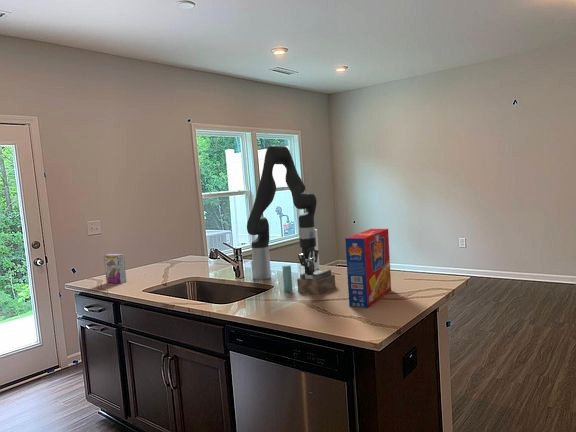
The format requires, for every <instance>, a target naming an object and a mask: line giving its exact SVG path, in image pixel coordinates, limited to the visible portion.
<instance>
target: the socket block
mask: <svg viewBox="0 0 576 432" xmlns="http://www.w3.org/2000/svg"><path fill="white" fill-rule="evenodd" d="M315 270H319V269H314V271H315ZM323 271H324V272H321V273H319V274H316V275H313V280H311V279H305V272H303V273H301V274H300V275H299V276H300V277H299V278H297V279H296V280H297V292H300V293H308V294H316V295H321V294H323V293H326V292H327V291H329V290H332V289H334V288H336V275H335V274H333V273H332V269H327V270H323Z"/></svg>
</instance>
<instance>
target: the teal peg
mask: <svg viewBox="0 0 576 432" xmlns="http://www.w3.org/2000/svg"><path fill="white" fill-rule="evenodd" d="M281 267H282V279H283V281H282V282H283V291H284V292H285V293H291V292H293V280H292V279H293V277H292V265H289V264H284V265H282V266H281Z"/></svg>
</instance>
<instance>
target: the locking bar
mask: <svg viewBox="0 0 576 432" xmlns="http://www.w3.org/2000/svg"><path fill="white" fill-rule="evenodd" d="M306 263H307V262H306ZM309 268H310V274H309V275H306V274H305V279H311V280H313V275H316V274H319V273H321V272H324V271H325V270H315V271H314V273H313V261H310V262H309Z"/></svg>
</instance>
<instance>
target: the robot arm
mask: <svg viewBox="0 0 576 432" xmlns="http://www.w3.org/2000/svg"><path fill="white" fill-rule="evenodd" d="M275 165H283V166H284V168H285V170H286V171H285V172H286V173H285V183H286V185H287V187H288V188H289V191H290V192H291V197H292V203H293V205H294V207H295V208H296V209H298V210H305V212H304V213H302V214H300V215H299V216H298V227H299V228H298V237H299V238H298V239H299V247H300V248H301V253H300V254H298V255H297V258H298V260H299V263H300V266H301V267H304V273H305V274H306V275H309V274H310V268H309V262H310V261H313V273H314V265H315V262H317V258H318V253H319V252H318V251H319V249H318V250H315V248H314V247H315V246H316V235H315V229H316V228H315V214H316V208H317V203H318V201H317V197H316V195H315V194H314V193H312V192H307V193H306V192H305V191H306V185H305V184H304V181H303V180H302V178H301V177H300V175H299V173H298V169H296V165H295V163H294V160H293V157H292V154H291V151H290V149H288V147H287V146H285V145H269V146H268V147H267V149H266V151H265V155H264V160H263V168H262V173H261V177H260V179H259V180H260V181H259V183H258V187H257V191H256V195H255V199H254V202H253V205H252V209H251V212H250V214H249V217H248V219H247V222H246V223H247V224H246V231H247V233H248V234H249V236H257V237H256V239H254V240H252V241H251V254H252V255H251V256H252V260H251V274H252V279H254V280H256V279H257V280H258V281H263V280H268V279H270V278H271V277H272V273H271V262H270V261H271V260H270V248H269V247H270V245H269V243H270V225H269V220H268V219H267V217H266V216H262V215H263V213H264V212H265V211H266V210H267V208H268V207H269V206H271V204H272V202H273V201H274V199H275V195H276V192H277V184H276V181H275V178H274V175H273V170H274V167H275ZM304 192H305V193H304ZM306 259H308V260H306ZM314 259H315V260H314ZM306 261H307V263H306Z"/></svg>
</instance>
